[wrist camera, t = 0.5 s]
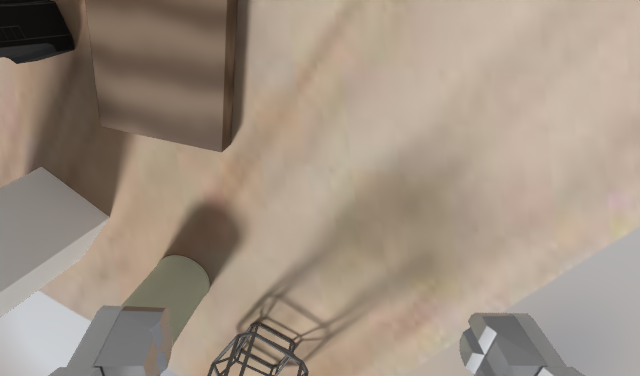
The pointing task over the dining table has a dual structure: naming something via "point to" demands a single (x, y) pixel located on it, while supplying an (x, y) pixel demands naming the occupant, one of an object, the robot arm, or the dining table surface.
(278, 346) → the geometric lantern
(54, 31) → the portable radio
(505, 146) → the dining table surface
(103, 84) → the walnut plinth
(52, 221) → the milk
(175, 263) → the can
